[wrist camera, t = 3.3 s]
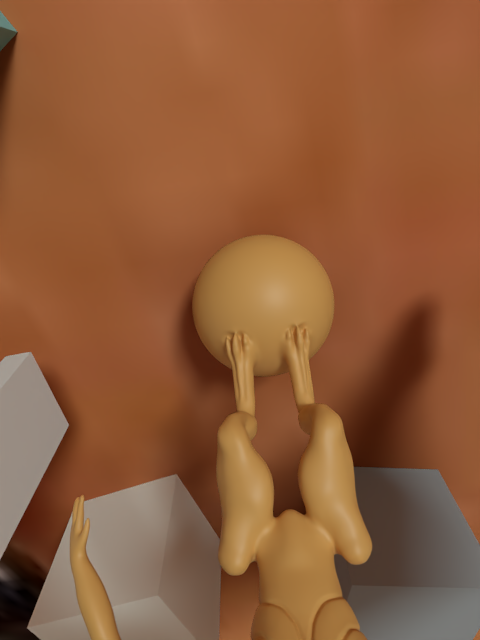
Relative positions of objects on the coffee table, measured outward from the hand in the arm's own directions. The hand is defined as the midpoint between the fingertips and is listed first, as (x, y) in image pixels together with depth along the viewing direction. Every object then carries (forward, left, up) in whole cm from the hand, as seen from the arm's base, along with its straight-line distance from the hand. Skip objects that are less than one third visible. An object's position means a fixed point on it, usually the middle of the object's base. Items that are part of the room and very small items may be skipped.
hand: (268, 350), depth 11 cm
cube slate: (+3, -11, -3) cm, 12 cm away
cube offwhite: (-7, -10, -3) cm, 13 cm away
